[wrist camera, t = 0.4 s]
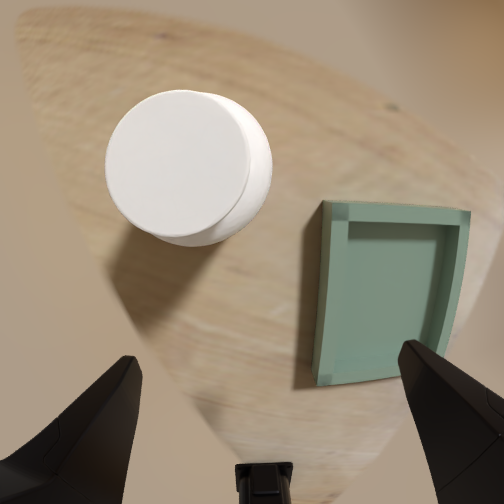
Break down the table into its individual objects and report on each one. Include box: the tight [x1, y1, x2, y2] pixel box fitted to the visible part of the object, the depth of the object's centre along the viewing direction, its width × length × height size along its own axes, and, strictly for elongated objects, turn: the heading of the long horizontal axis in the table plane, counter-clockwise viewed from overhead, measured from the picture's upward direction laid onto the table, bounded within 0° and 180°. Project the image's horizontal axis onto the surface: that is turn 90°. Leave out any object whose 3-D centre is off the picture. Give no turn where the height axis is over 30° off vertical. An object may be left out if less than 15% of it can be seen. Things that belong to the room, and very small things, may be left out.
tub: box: [311, 200, 471, 386], centre depth 22 cm, size 14×12×2 cm
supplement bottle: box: [105, 90, 272, 247], centre depth 15 cm, size 7×7×13 cm
